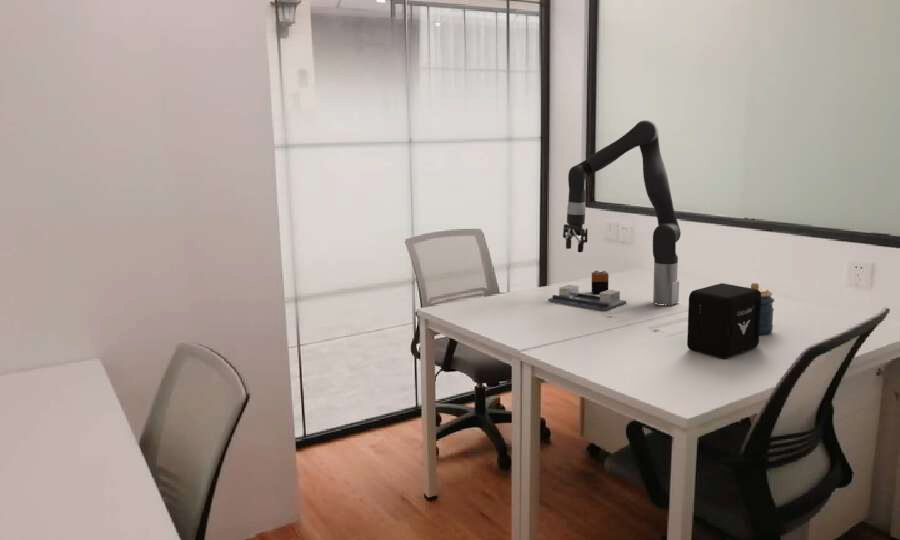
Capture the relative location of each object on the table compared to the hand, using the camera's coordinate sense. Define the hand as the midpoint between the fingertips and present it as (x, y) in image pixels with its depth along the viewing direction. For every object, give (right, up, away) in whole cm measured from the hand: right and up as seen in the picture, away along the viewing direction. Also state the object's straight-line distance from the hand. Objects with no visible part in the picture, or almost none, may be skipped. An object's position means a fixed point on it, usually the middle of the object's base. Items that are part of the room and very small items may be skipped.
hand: (574, 250), depth 309 cm
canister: (+54, -30, -53) cm, 81 cm away
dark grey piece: (+4, -22, -6) cm, 23 cm away
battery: (+13, -19, +10) cm, 25 cm away
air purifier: (+37, -35, -72) cm, 88 cm away
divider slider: (-3, -20, -1) cm, 20 cm away
